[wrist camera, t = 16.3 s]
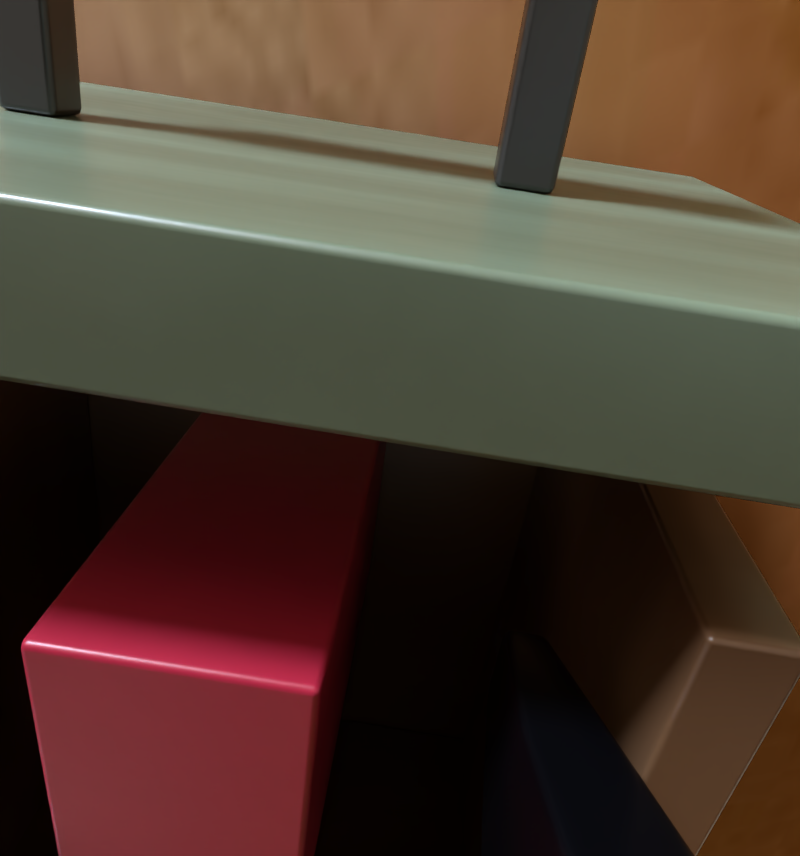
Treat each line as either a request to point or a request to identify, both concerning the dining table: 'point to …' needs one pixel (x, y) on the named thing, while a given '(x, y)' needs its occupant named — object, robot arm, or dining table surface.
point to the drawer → (411, 407)
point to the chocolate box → (209, 648)
